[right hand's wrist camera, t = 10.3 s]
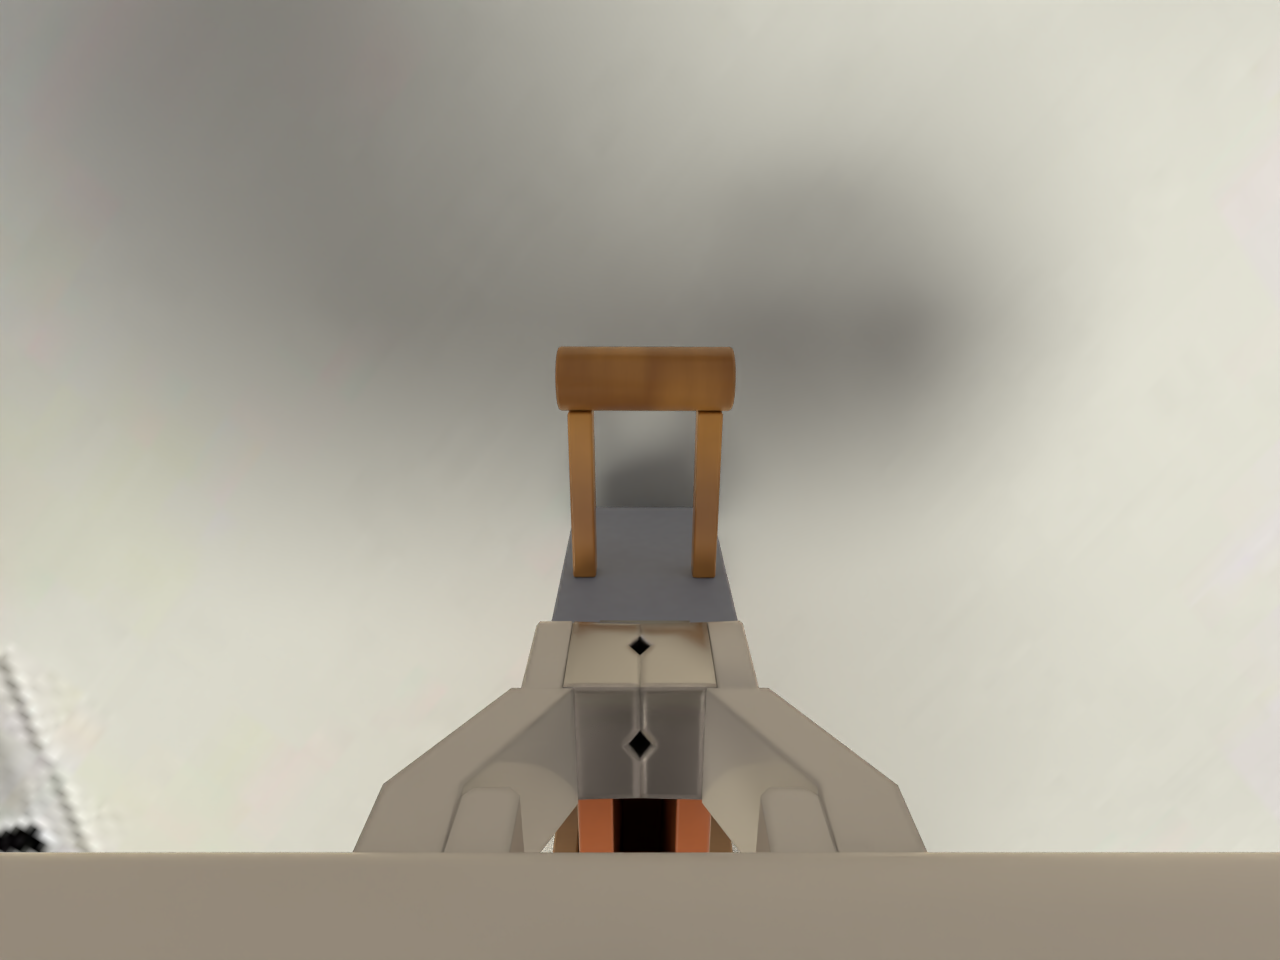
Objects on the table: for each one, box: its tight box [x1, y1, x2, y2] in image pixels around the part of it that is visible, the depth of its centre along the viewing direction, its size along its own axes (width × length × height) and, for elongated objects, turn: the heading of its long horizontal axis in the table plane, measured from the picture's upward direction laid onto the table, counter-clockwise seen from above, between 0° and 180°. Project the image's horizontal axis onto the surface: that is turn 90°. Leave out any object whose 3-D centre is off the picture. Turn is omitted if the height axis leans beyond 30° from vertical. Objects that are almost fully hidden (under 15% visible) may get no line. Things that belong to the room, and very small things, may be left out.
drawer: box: [552, 347, 738, 853], centre depth 21 cm, size 26×4×9 cm, turn 0°
